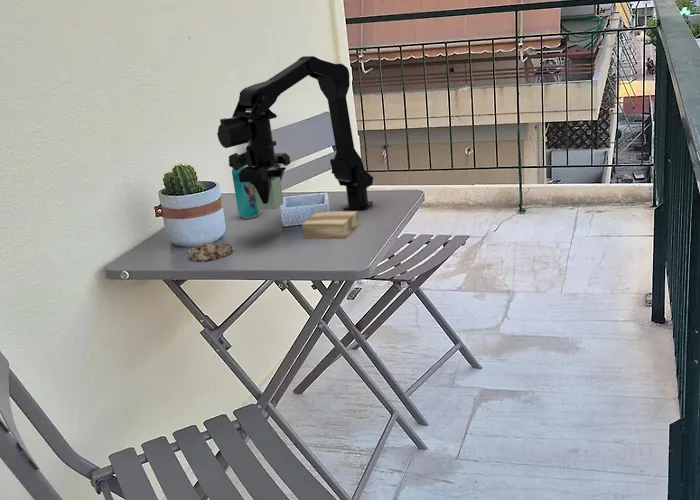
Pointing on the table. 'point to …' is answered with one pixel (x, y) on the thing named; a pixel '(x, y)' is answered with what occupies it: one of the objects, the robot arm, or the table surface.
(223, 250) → the mineral rock
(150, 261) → the table surface
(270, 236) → the table surface
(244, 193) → the beverage can
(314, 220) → the oak box
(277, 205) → the sage block
